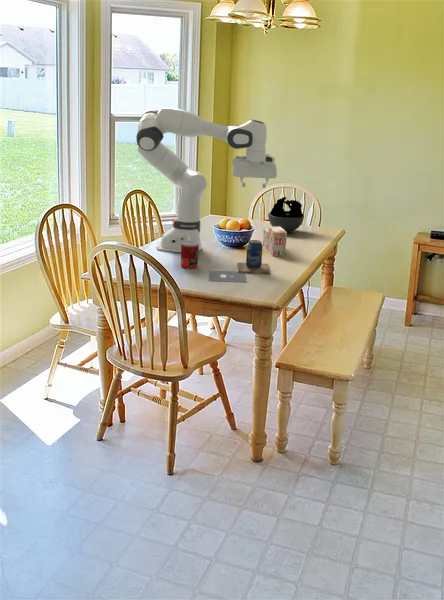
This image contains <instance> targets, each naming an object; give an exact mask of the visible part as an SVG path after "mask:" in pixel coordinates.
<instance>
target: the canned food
mask: <svg viewBox="0 0 444 600" xmlns="http://www.w3.org/2000/svg"><path fill="white" fill-rule="evenodd" d="M199 251H200V250H199V243H197V242H194V241H183V242H182V243H181V252H180V266H181V268H182V269H187V270H193V269H197V268H198V266H199Z"/></svg>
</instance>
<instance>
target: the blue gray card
mask: <svg viewBox="0 0 444 600" xmlns="http://www.w3.org/2000/svg"><path fill="white" fill-rule="evenodd" d="M246 275H247V273H238V270H237V271H234V270H232V271H231V270H213V269H212V270H208V281H209V282H219V283H220V282H221V283H223V282H224V283H244V284H245V283H246V284H247V276H246Z"/></svg>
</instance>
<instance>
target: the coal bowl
mask: <svg viewBox="0 0 444 600" xmlns="http://www.w3.org/2000/svg"><path fill="white" fill-rule="evenodd" d="M284 204H285V205H286V206H288V208H289V210H285V208H284ZM302 207H303V205H302V203H301V202H299V200H294V199H290V200H288V199H287V197H286V196H283V197H282V198H279V199H277V200H276V203H274V204H273V207H272V209H271V211H269V212H268V213H267V217H268V222H269V224H270V225H271V227H281V228H283V229H284V230H285V231H286V232H287V234H288V233H293V232H294V231H296V230H297V229H299V228H300V227H301V226H302V223H303V222H304V219H305V215H304V213H303V212H302Z"/></svg>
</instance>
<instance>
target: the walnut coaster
mask: <svg viewBox="0 0 444 600" xmlns="http://www.w3.org/2000/svg"><path fill="white" fill-rule="evenodd" d="M236 266H237V272H238V273H245V274H253V275H254V274H255V275H271V271H270V266H269V263H261V267H260V268H259V269H250V268H248V267H247V266H246V262H239V261H238V262H237V265H236Z"/></svg>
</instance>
